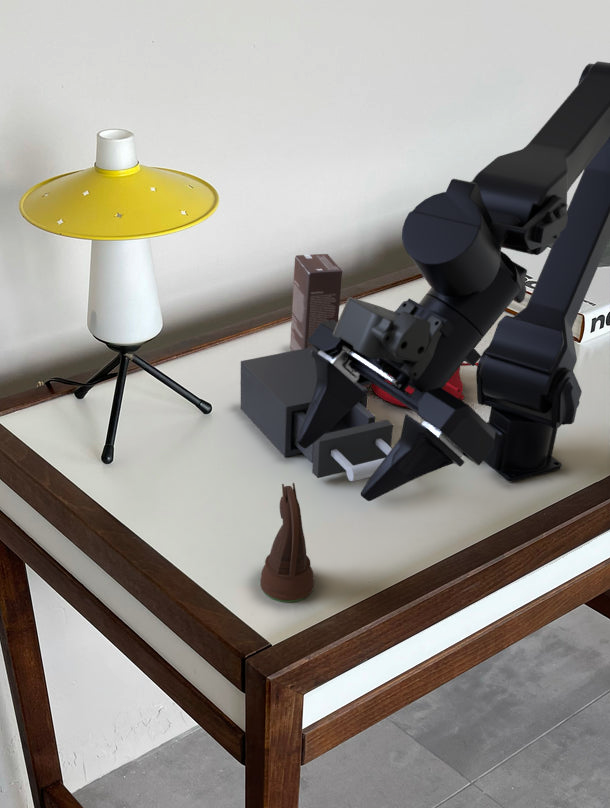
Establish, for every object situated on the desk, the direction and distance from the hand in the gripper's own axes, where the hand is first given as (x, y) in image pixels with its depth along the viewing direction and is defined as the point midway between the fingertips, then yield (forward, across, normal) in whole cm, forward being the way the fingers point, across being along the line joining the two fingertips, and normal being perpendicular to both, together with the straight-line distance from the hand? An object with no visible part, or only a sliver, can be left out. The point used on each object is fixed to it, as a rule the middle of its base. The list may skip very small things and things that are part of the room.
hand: (331, 471), depth 82 cm
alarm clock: (-12, -25, +27) cm, 39 cm away
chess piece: (+10, 0, +5) cm, 12 cm away
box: (-8, -36, +24) cm, 44 cm away
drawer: (-1, -14, +15) cm, 21 cm away
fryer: (-1, -24, +16) cm, 29 cm away
